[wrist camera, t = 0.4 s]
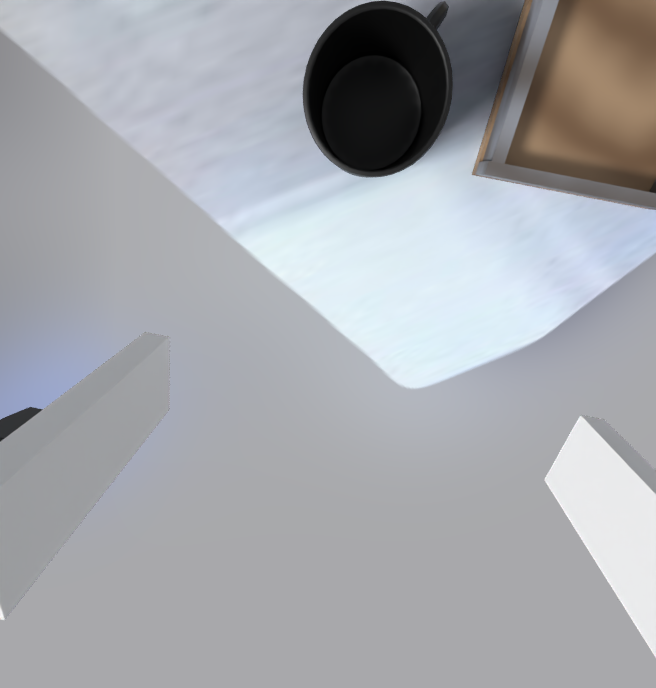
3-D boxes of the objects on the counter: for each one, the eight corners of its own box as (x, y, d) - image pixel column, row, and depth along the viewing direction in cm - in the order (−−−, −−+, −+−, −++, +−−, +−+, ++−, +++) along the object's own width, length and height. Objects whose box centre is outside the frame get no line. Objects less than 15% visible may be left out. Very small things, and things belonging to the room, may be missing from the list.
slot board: (598, -241, 23) (637, -307, 20) (845, -189, 24) (921, -245, 21) (471, 174, 33) (484, 174, 30) (647, 209, 34) (678, 212, 30)
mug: (474, 75, 30) (520, 37, 22) (375, 200, 35) (383, 207, 26) (386, -17, 28) (400, -96, 20) (293, 127, 33) (273, 110, 24)
